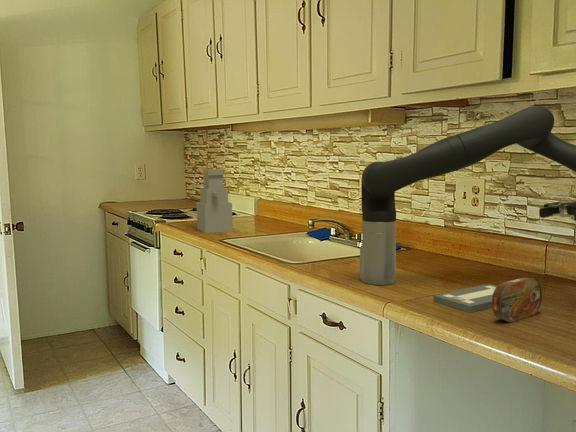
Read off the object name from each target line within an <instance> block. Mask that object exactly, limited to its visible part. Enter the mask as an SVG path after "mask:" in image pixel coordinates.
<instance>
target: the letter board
mask: <svg viewBox="0 0 576 432" xmlns="http://www.w3.org/2000/svg"><path fill="white" fill-rule="evenodd" d="M497 286H498V285H494V284H489V283H487V284H483V285H478V286H477V285H476V286H473V287H469V288H464V289H458V290H455V291H449V292H443V293H439V294H438V293H437V294H434V295H433V302H435V303H438V304H440V305H444V306H447V307H450V308H454V309H456V310H459V311H460V310H461V311H462V312H467V313H470V314H471V313H474V312H479V311H483V310H488V309H491V308H492V309H493V307H492V296H493V292H494V290H495V289H496V287H497Z"/></svg>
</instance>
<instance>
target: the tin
mask: <svg viewBox="0 0 576 432" xmlns="http://www.w3.org/2000/svg"><path fill="white" fill-rule="evenodd" d="M496 286H497V287H496V289H495V290H494V292H493V296H492V313H493V315H494V316H495V318H496V319H498V320H501V321H505V322H508V323H513V322H517V321H520V320H523V319H527V318H529V317H532V316H534V315H536V314H537V313H538V311H539V309H540V308H541V305H542V301H543V291H542V286H541V283H540V282H539V280H537V279H536V278H534V277H532V278H531V277H520V278H516V279H512V280H508V281H504V282H501V283H499V284H498V285H496Z"/></svg>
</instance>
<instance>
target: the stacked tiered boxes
mask: <svg viewBox="0 0 576 432" xmlns="http://www.w3.org/2000/svg"><path fill="white" fill-rule="evenodd" d="M224 176H227V174H224V169H219V168H214V169H213V168H212V169H211V168H210V169H206V168H205V169H203V181H199V183H201V184H203V187H199V201H196V229H197V231H200V232H202V233H204V234H211V233H223V232H224V233H226V232H233V231H234V229H233V228H234V227H233V224H234V223H233V202H230V201H229V188H228V187H224Z"/></svg>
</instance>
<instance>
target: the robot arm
mask: <svg viewBox="0 0 576 432" xmlns="http://www.w3.org/2000/svg"><path fill="white" fill-rule="evenodd" d="M554 125H555V116H554V113H553V112H552V111H551V110H550V109H548V108H546V107H543V106H541V105H540V106H539V105H537V106H536V105H533V106H529V107H525V108H523V109H521V110H519V111H517V112H515V113H513V114H510V115H509V116H505V117H503V118H502V119H499V120H497V121H494V122H491V123H488V124H485V125H481V126H479V127H475V128H473V129H469V130H466V131H463V132H460V133H457V134H453V135H451V136H448V137H445V138H442V139H440V140H437V141H434V142H433V143H431V144H428V145H426V146H425V147H423V148H422V149H420V150H418V151H416V152H414V153H412V154H409V155H407V156H403V157H399V158H395V159H391V160H386V161H374V162H371V163H369V164H368V165H367V166H366V167H365V168H364V169H363V171H362V174H361V186H360V187H361V189H360V190H361V213H362V214H361V215H362V216H361V217H362V218H361V219H362V222H361V223H362V224H361V225H362V226H361V230H362V231H361V232H362V233H361V236H362V237H361V238H362V239H361V240H362V241H361V246H360V247H359V279H360V280H361V281H362V283H365V284H369V285H375V286H384V285H385V286H387V285H392V284H395V283H396V269H397V268H396V266H397V265H396V264H397V263H396V262H397V260H396V258H397V256H396V255H397V244H396V243H397V208H396V194H395V193H396V192H397V191H399V190H401V189H403V188H405V187H408V186H410V185H412V184H415V183H417V182H420V181H424V180H427V179H433V178H436V177H440V176H443V175H447V174H450V173H454V172H457V171H460V170H463V169H465V168H468V167H471V166H474V165H475V164H477V163H480V162H481V161H483V160H484V159H486V158H489V157H490V156H491V155H493V154H495V153H497V152H498V151H500V150H502V149H505V148H507V147H509V146H514V145H518V146H519V147H521V148H524V149H526V150H529V151H530V152H533V153H535V154H538V155H540V156H543V157H544V158H547V159H550V160H552V161H553V162H556V163H557V164H560V165H562V166H563V167H566V168H567V169H569V170H571V171H573V172H574V173H576V144H573V143H570V142H568V141H565V140H563V139H561V138H560V137H558V136H557V135H555V134H554V133H553V132H552V131H553V128H554ZM565 210H566V213H565ZM538 211H539V213H538V215H539V218H542V219H544V218H549V217H556V216H559V217H561V218H571V217H572V218H573V220H574V221H575V222H576V200H571V201H561V200H560V201H556V202H551V203H545V204H543V207H540V209H539V210H538Z"/></svg>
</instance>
